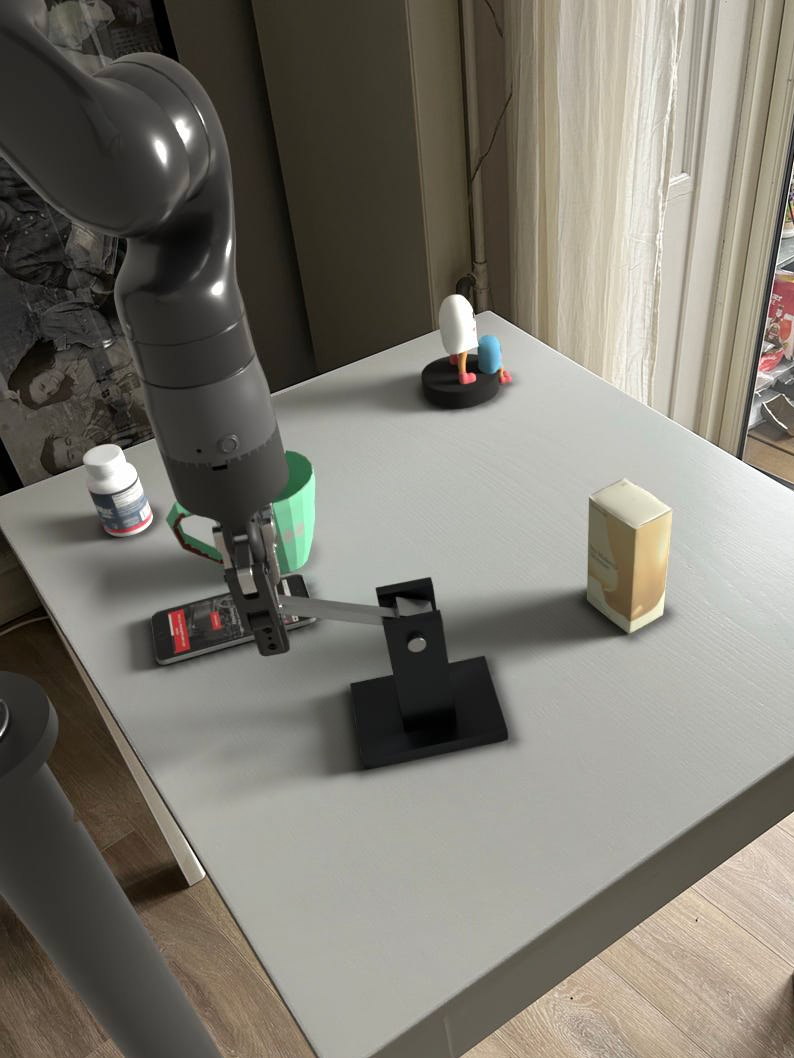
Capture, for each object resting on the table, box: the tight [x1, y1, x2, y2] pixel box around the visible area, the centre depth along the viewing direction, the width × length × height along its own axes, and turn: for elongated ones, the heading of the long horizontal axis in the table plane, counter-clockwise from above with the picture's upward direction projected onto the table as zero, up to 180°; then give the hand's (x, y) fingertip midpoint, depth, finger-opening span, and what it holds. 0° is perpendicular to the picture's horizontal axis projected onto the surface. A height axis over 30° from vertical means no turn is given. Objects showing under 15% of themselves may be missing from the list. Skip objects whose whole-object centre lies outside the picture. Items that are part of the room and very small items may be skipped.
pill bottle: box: [82, 443, 154, 538], centre depth 105 cm, size 5×5×9 cm
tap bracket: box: [349, 576, 509, 771], centre depth 79 cm, size 12×9×13 cm
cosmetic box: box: [586, 477, 673, 634], centre depth 87 cm, size 6×4×12 cm
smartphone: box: [150, 573, 317, 665], centre depth 94 cm, size 7×1×15 cm
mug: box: [165, 449, 316, 575], centre depth 97 cm, size 15×10×10 cm
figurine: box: [420, 294, 513, 410], centre depth 119 cm, size 10×11×12 cm
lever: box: [278, 595, 432, 627], centre depth 74 cm, size 13×6×2 cm, turn 102°
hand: (273, 623), depth 73 cm, fingers closed on lever, 5 cm apart
